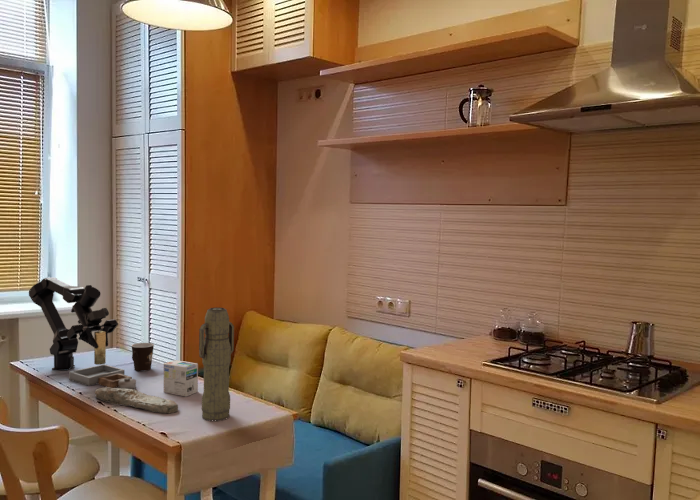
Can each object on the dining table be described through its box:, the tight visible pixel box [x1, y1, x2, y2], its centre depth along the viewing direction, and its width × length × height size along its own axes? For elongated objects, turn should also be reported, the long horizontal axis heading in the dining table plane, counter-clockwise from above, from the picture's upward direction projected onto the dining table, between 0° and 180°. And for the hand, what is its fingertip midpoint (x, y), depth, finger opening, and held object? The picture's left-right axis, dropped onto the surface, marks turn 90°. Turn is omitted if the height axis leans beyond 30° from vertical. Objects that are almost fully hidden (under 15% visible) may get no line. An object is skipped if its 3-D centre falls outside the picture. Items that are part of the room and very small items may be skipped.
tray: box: [68, 363, 125, 387], centre depth 238 cm, size 13×15×3 cm
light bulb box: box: [163, 359, 199, 397], centre depth 223 cm, size 11×7×11 cm, turn 65°
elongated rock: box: [94, 386, 179, 414], centre depth 210 cm, size 35×5×10 cm
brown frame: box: [98, 373, 137, 390], centre depth 230 cm, size 14×8×3 cm, turn 55°
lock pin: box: [93, 331, 107, 366], centre depth 236 cm, size 4×4×12 cm
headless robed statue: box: [198, 307, 235, 422], centre depth 198 cm, size 9×12×35 cm
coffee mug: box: [131, 342, 155, 372], centre depth 251 cm, size 12×9×10 cm
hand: (102, 346), depth 235 cm, fingers closed on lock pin, 4 cm apart
